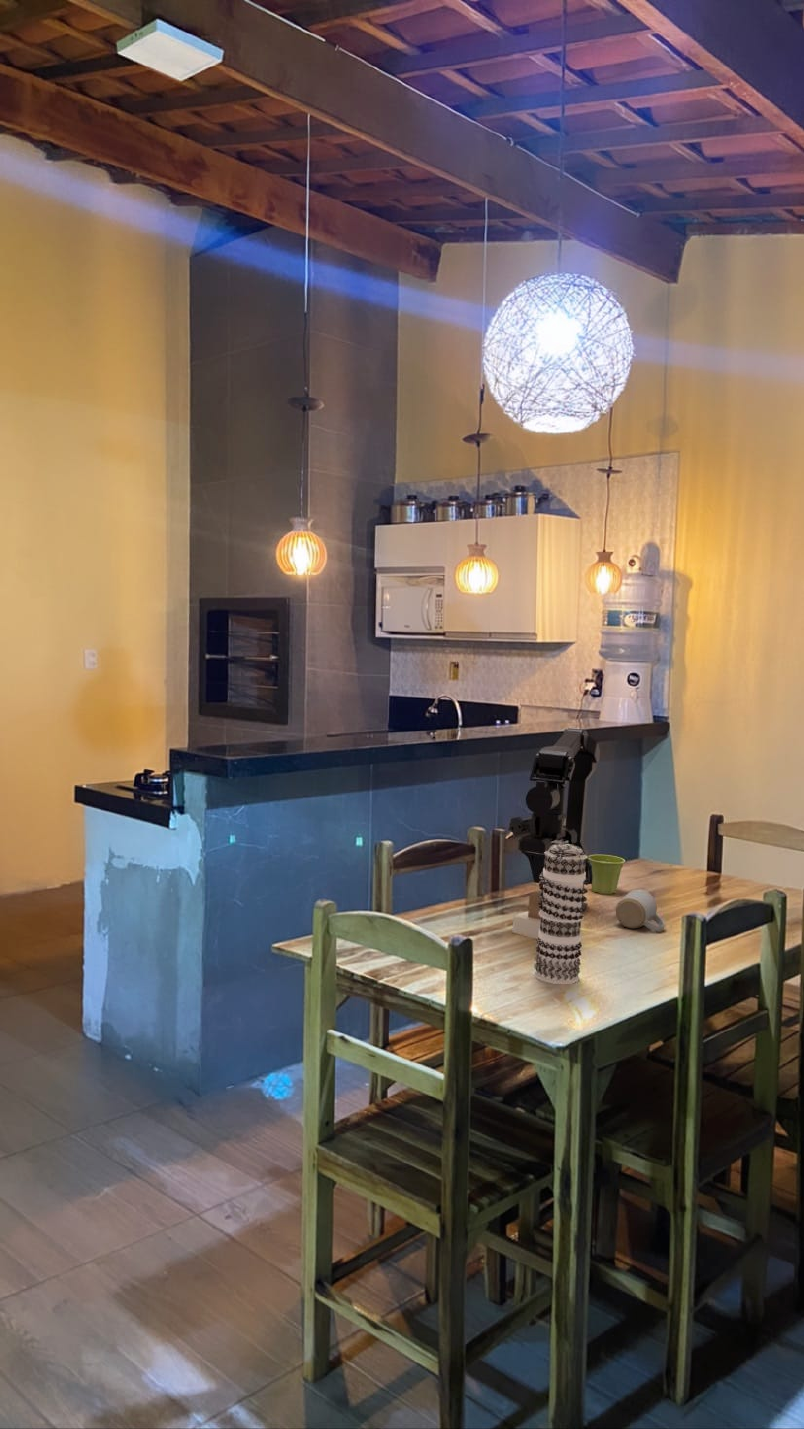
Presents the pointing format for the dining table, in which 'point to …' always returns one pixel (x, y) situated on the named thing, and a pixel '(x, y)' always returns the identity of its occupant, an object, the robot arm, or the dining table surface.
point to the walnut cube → (534, 905)
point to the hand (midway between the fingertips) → (545, 878)
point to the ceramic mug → (639, 911)
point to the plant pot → (605, 873)
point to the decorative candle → (561, 914)
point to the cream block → (526, 925)
